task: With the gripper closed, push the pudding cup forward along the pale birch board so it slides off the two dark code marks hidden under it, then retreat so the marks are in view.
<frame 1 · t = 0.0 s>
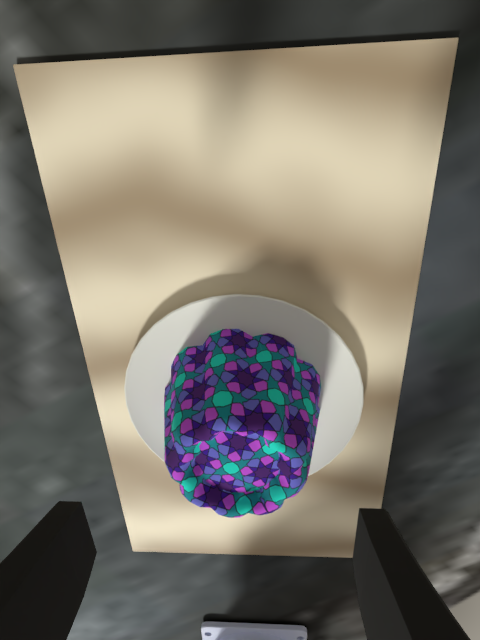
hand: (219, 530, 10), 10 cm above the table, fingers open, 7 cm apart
pudding: (243, 393, 21), resting on code board
code board: (242, 376, 20), on the table
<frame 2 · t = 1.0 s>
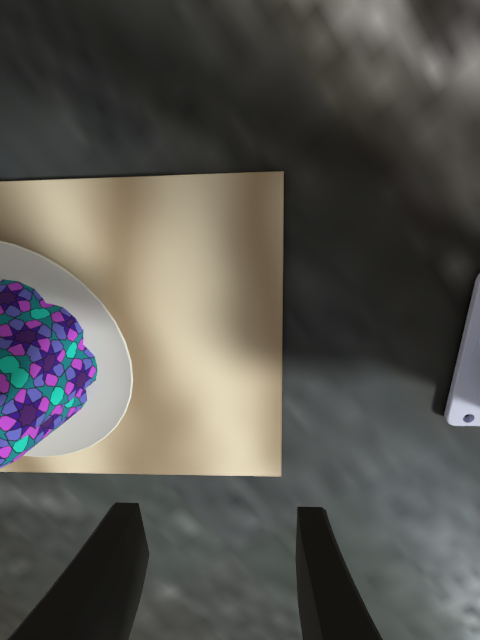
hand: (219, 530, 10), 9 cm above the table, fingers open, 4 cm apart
pudding: (19, 352, 19), resting on code board
code board: (0, 351, 19), on the table
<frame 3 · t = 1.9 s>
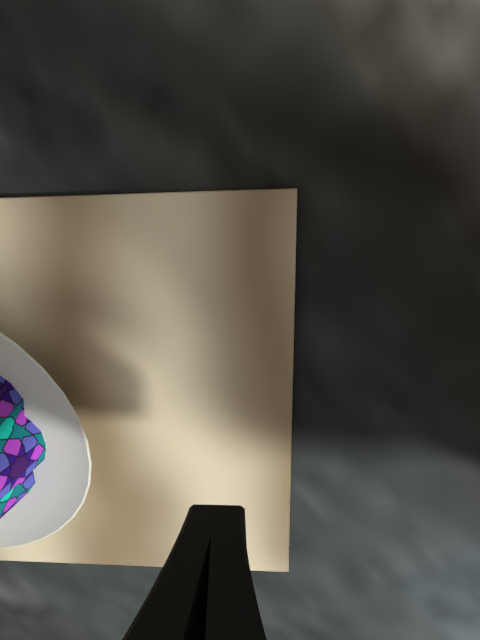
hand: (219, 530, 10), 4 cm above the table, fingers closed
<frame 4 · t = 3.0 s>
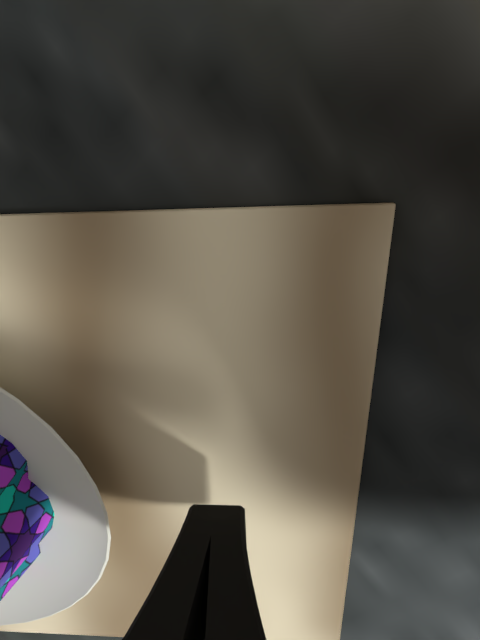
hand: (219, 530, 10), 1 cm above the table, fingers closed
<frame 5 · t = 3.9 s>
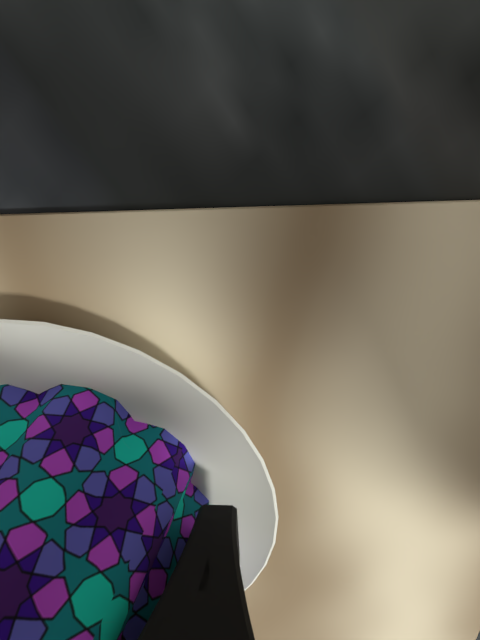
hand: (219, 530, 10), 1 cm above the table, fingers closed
pudding: (77, 484, 12), resting on code board, touching gripper
code board: (46, 482, 12), on the table
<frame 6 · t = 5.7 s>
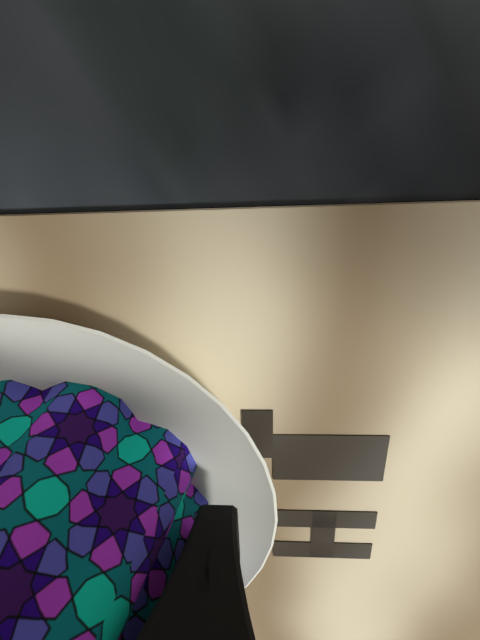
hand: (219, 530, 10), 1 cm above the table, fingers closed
pudding: (76, 482, 12), resting on code board, touching gripper
code board: (290, 488, 11), on the table
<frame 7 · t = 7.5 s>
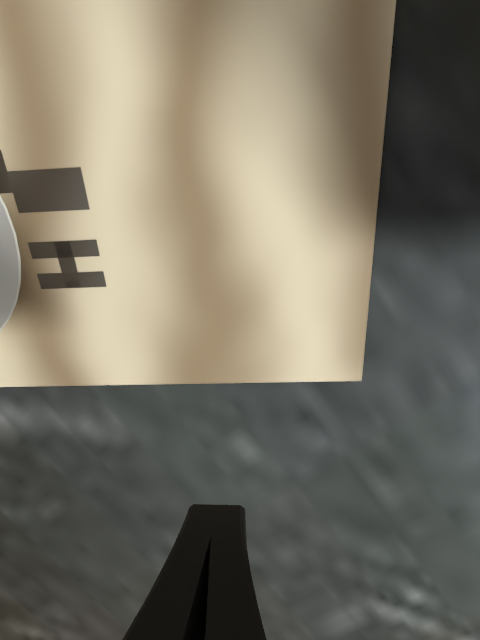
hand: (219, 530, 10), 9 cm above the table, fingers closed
code board: (37, 225, 16), on the table
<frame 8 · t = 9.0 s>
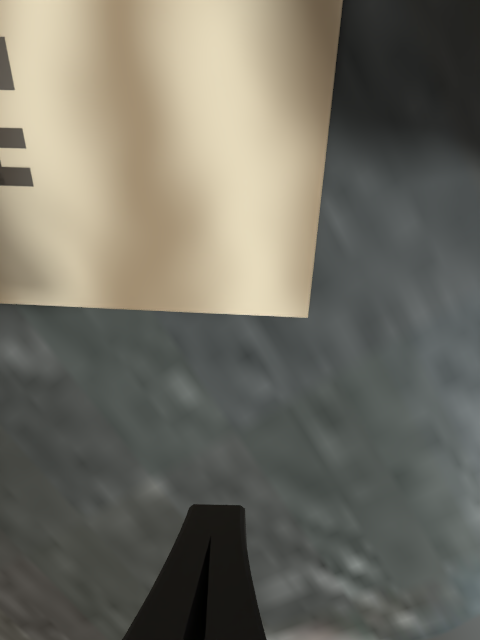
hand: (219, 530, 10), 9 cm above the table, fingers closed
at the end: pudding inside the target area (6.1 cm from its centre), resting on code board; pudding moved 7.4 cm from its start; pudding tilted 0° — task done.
